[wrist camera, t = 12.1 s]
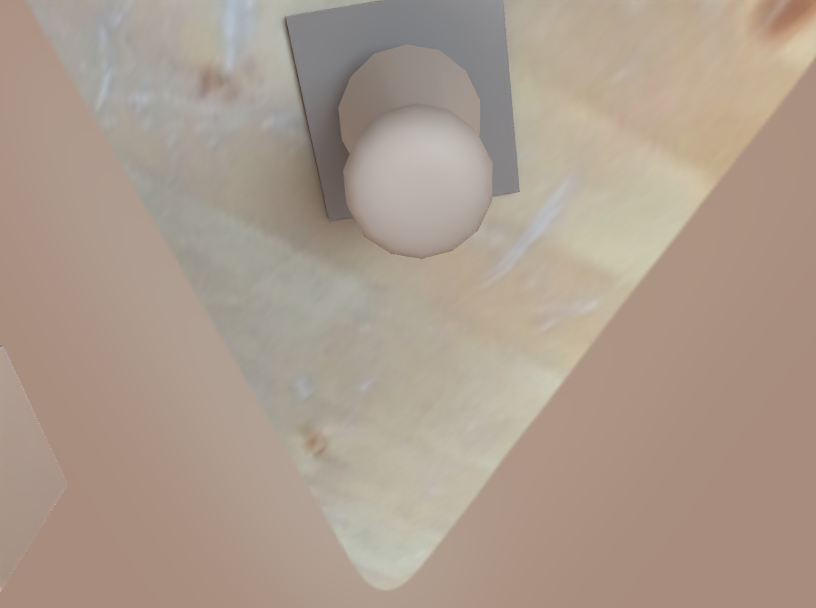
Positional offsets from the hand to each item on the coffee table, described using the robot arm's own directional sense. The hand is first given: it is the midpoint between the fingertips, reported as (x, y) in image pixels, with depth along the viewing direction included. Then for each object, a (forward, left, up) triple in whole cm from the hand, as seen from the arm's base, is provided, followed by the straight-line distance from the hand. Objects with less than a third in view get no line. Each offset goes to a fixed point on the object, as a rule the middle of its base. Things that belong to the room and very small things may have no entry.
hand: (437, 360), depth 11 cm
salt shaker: (0, 0, -22) cm, 22 cm away
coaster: (0, 0, -23) cm, 23 cm away
